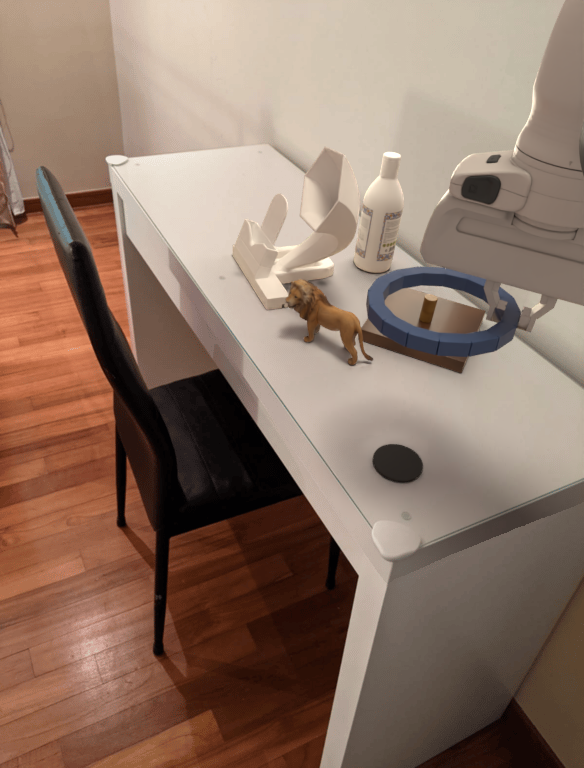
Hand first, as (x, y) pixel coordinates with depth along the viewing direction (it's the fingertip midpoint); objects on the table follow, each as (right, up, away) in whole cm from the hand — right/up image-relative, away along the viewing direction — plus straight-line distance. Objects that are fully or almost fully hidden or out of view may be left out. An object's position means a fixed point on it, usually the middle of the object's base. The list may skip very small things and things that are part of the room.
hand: (508, 323), depth 61 cm
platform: (-1, +2, +36) cm, 36 cm away
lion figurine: (-17, 0, +30) cm, 35 cm away
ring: (-6, +1, +3) cm, 7 cm away
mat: (-9, -16, +13) cm, 22 cm away
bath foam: (-7, +16, +51) cm, 54 cm away
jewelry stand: (-21, +11, +43) cm, 49 cm away
